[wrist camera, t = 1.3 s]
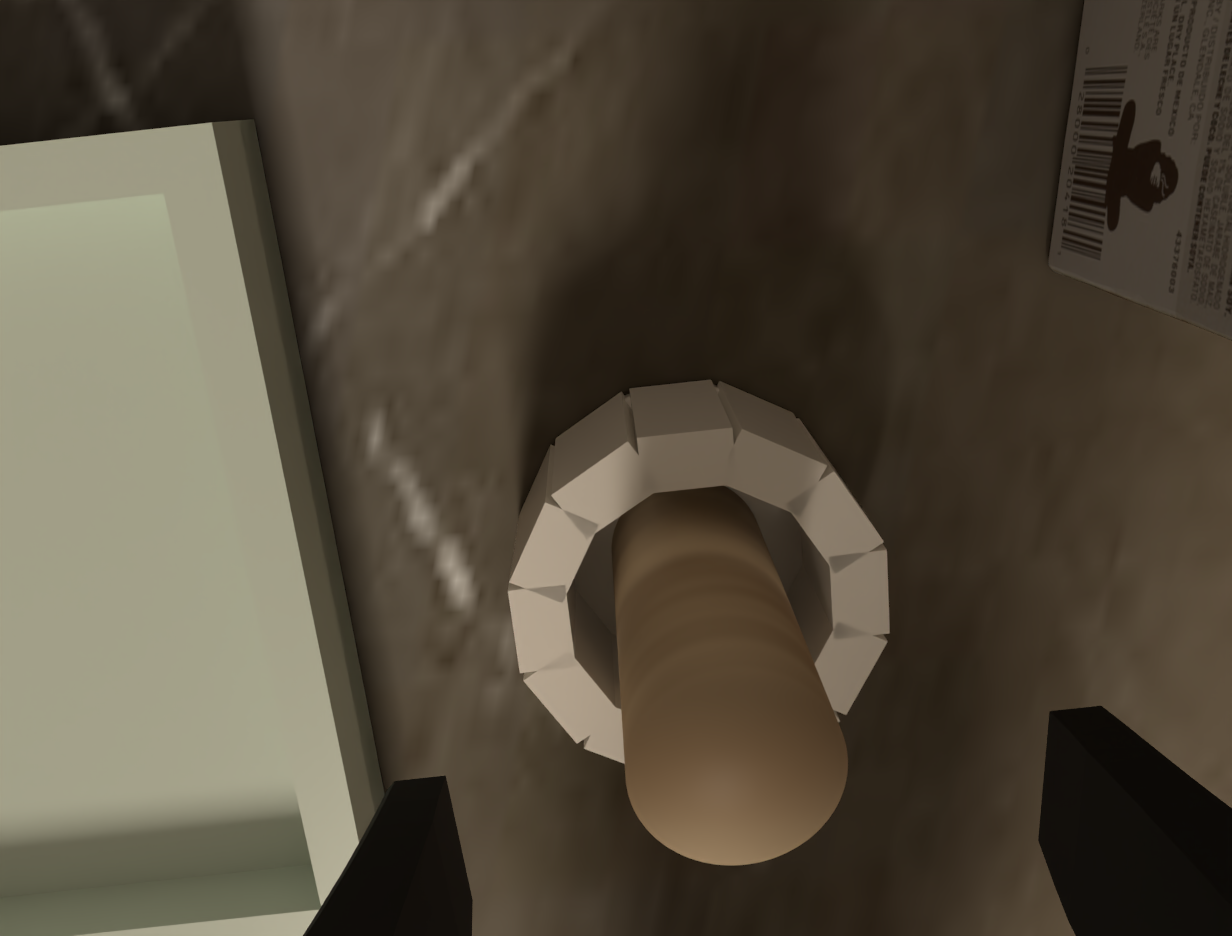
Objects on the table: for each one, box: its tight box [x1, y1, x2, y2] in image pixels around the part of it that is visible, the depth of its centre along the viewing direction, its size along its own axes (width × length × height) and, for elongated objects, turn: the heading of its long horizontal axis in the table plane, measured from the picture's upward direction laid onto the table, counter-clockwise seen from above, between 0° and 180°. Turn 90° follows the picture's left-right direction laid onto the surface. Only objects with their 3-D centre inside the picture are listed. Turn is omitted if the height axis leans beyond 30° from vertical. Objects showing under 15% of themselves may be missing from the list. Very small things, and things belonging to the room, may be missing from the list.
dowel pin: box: [611, 486, 848, 866], centre depth 19 cm, size 3×3×8 cm
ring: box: [508, 380, 890, 764], centre depth 22 cm, size 7×7×3 cm
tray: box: [0, 119, 385, 936], centre depth 22 cm, size 16×12×2 cm
